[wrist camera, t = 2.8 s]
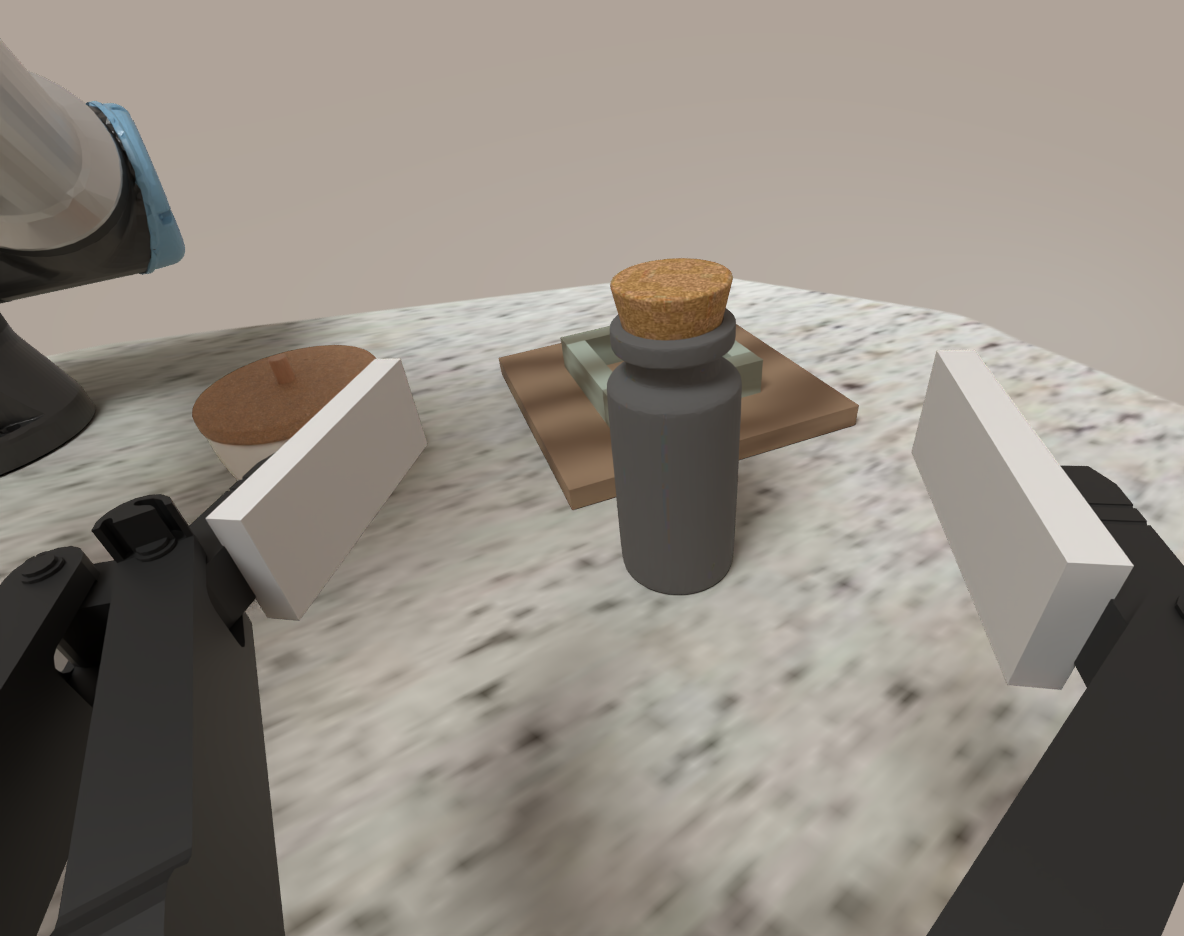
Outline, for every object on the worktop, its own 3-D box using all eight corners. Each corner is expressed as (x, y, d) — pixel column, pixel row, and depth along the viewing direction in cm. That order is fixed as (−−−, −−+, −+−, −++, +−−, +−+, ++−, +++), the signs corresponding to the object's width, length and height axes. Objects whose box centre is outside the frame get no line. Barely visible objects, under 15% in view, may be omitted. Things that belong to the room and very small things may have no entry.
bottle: (701, 613, 29) (705, 314, 20) (601, 569, 32) (565, 293, 23) (751, 539, 32) (772, 259, 24) (656, 506, 35) (644, 247, 27)
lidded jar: (437, 442, 44) (400, 320, 38) (362, 543, 35) (301, 406, 30) (310, 436, 46) (258, 321, 41) (212, 530, 38) (130, 401, 32)
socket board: (501, 373, 51) (492, 330, 49) (710, 322, 56) (711, 280, 53) (572, 510, 36) (563, 455, 33) (855, 424, 40) (865, 370, 38)
